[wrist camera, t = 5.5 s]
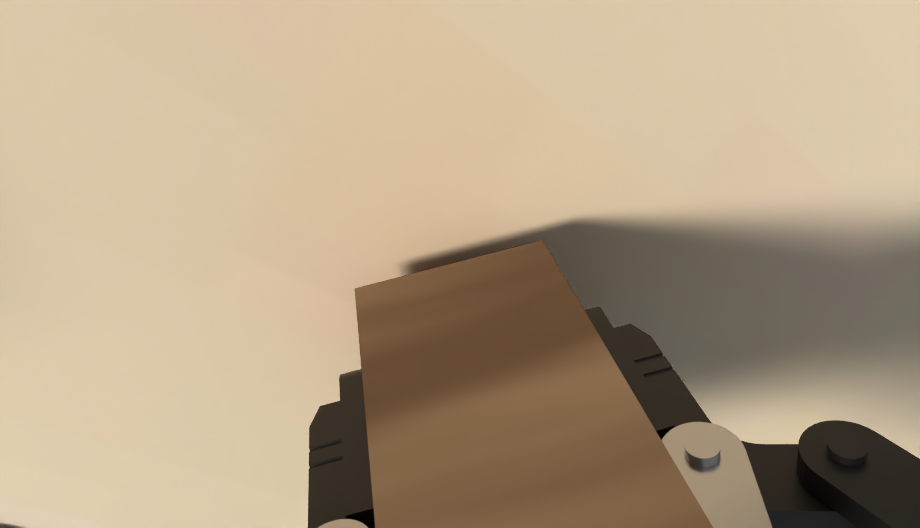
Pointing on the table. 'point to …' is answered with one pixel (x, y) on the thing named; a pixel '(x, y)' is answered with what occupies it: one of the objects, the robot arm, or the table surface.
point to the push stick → (505, 406)
